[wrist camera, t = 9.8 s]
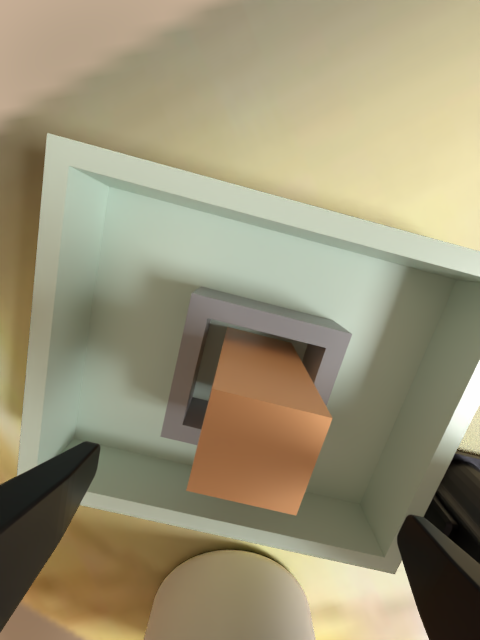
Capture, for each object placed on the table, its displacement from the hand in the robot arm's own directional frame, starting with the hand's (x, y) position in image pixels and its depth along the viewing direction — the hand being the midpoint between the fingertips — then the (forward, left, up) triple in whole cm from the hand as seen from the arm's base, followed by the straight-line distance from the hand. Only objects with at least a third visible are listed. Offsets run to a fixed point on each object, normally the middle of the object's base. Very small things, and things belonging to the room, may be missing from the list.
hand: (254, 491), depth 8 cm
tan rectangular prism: (0, 0, -10) cm, 10 cm away
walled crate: (0, 0, -11) cm, 11 cm away
